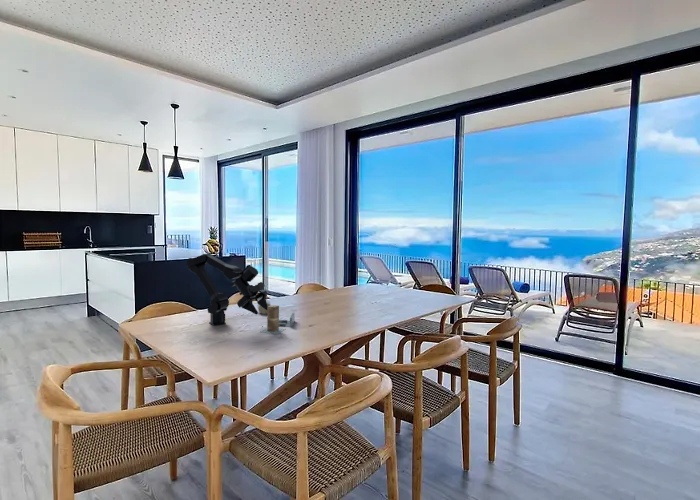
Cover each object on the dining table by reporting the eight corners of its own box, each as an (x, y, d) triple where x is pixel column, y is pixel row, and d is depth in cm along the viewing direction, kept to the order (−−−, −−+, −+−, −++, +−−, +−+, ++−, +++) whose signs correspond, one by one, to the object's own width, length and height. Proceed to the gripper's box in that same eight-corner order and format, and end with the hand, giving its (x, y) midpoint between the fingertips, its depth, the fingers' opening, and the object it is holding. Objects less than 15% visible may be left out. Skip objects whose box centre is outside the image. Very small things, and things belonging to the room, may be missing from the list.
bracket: (274, 327, 187) (274, 317, 187) (278, 321, 199) (278, 312, 199) (291, 327, 188) (291, 318, 187) (294, 321, 200) (294, 312, 199)
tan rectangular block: (267, 330, 180) (267, 306, 179) (271, 328, 184) (271, 304, 183) (274, 331, 178) (274, 307, 177) (278, 329, 182) (279, 305, 181)
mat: (259, 332, 178) (259, 331, 178) (270, 327, 187) (270, 326, 187) (276, 334, 175) (276, 333, 175) (285, 330, 184) (285, 329, 184)
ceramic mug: (258, 315, 212) (258, 301, 212) (257, 311, 220) (257, 299, 219) (277, 314, 215) (277, 301, 215) (275, 311, 223) (275, 298, 223)
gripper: (242, 279, 174) (262, 305, 171) (265, 275, 192) (283, 298, 189) (228, 294, 177) (247, 320, 174) (251, 288, 195) (269, 311, 192)
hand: (262, 311), depth 182 cm, fingers open, 9 cm apart
